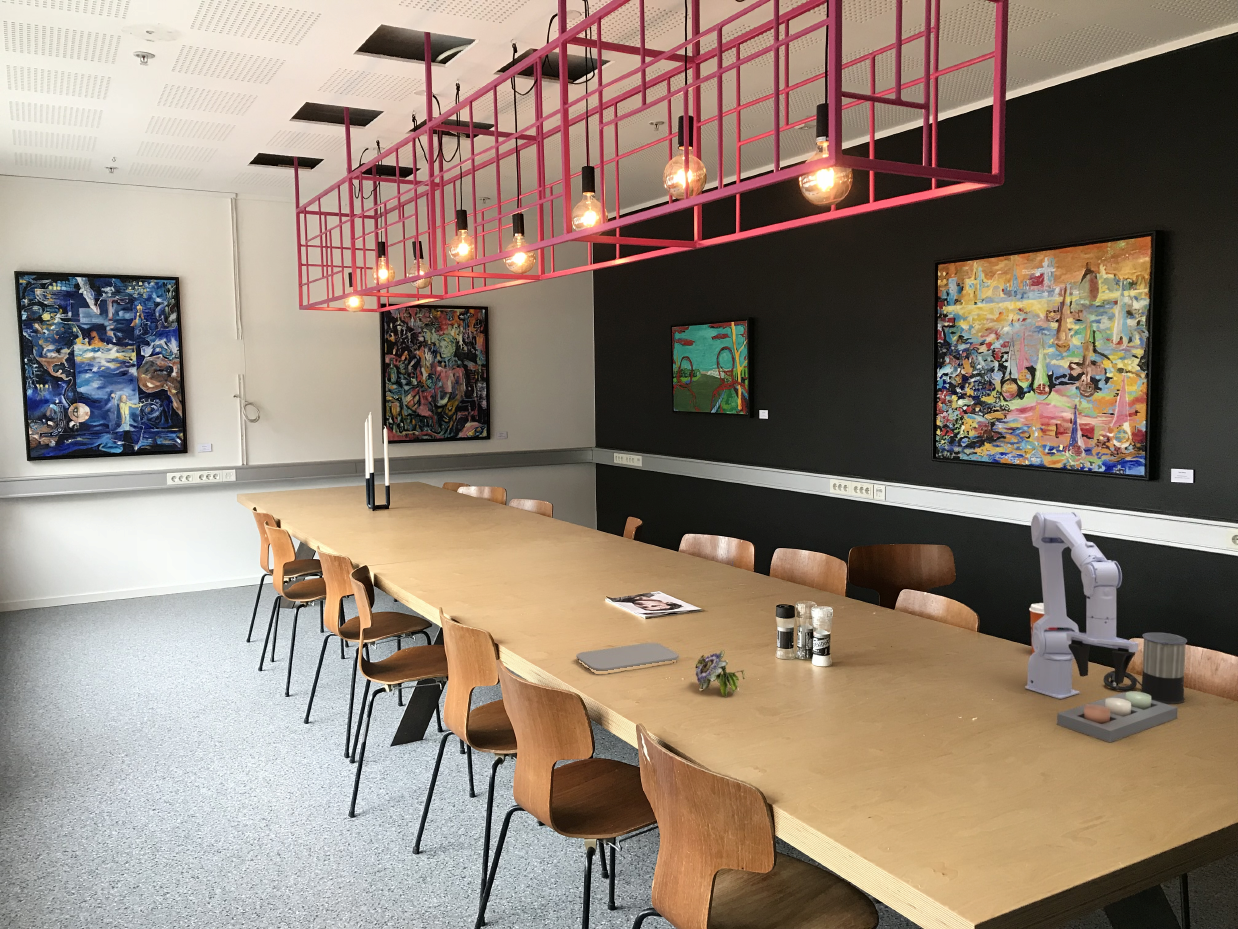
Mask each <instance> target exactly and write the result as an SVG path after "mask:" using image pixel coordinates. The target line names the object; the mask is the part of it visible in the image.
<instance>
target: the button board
mask: <svg viewBox="0 0 1238 929" xmlns="http://www.w3.org/2000/svg"><path fill="white" fill-rule="evenodd" d="M1126 692H1127V691H1122V692H1120V693H1118V694H1114V695H1111V696H1108V697H1104V698H1102V699H1099V700H1096V701H1093V702H1090V703H1086V704H1083V705H1080V706H1077V707H1073V708H1071V709H1067V710H1063V711H1060V712H1057V713H1056V725H1058V726H1061V727H1063V728H1065V729H1069V730H1072V731H1075V732H1079V733H1081V734H1085V735H1087V736H1089V737H1092V738H1095V739H1098V740H1101V741H1105V742H1107V743H1113V742H1115V741H1118V740H1121V739H1124V738H1126V737H1129V736H1132V735H1135V734H1137V733H1140V732H1143V731H1146V730H1148V729H1152V728H1155V727H1156V726H1160V725H1162V724H1165V723H1167V722H1168V723H1169V722H1171V721H1174V720H1176V719H1178V712H1179V711H1178V708H1179V707H1178V706H1173V705H1171V704H1168V703H1161V702H1157V701H1154V700H1151V708H1148V709H1145V710H1142V709H1139V708H1136V707H1132V706H1131V715H1128V716H1125V717H1122V716H1119V715H1115V714H1112V713H1110V722H1107V723H1104V724H1099V723H1096V722H1093V721H1090V720H1087V719H1084V706H1085V705H1100V706H1104V707H1105V700H1106V699H1107V698H1120V699H1124V700H1126Z"/></svg>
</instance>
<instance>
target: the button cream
mask: <svg viewBox="0 0 1238 929" xmlns="http://www.w3.org/2000/svg"><path fill="white" fill-rule="evenodd" d="M1106 698H1107V699H1106V700H1105V707H1107V708H1109V709H1110V713H1112V714H1115V715H1119V716H1122V717H1125V716H1128V715H1131V702H1129V701H1127V700H1124V699H1120V698H1108V697H1106Z"/></svg>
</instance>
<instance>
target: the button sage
mask: <svg viewBox="0 0 1238 929" xmlns="http://www.w3.org/2000/svg"><path fill="white" fill-rule="evenodd" d="M1125 692H1126V700H1127V701H1129V702H1131V706H1132V707H1136V708H1139V709H1142V710H1145V709H1148V708H1151V696H1150V695H1149V694H1146V693H1142V692H1140V691H1136V690H1135V691H1134V690H1133V691H1132V690H1130V691H1125Z"/></svg>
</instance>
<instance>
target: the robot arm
mask: <svg viewBox="0 0 1238 929" xmlns="http://www.w3.org/2000/svg"><path fill="white" fill-rule="evenodd" d="M1030 528H1031V530H1030V532H1031V541H1032V546H1034V547H1035V548H1038V551H1039V561H1040V573H1041V574H1040V575H1041V588H1042V589H1041V590H1042V598H1043V600H1042V601H1043V602H1042V603H1044V616H1043V617H1042V618H1041V619H1039V620H1038V621H1037V622H1035V623H1034V625H1033V635H1032V642H1031V646H1032V645H1033V649H1034V651H1035V652H1034V653H1033V654H1032V653H1031V655H1030V656H1029V658H1028V661H1027V684H1026V685H1025V686H1024V687H1025V689H1026V690H1029V691H1030V690H1031V691H1033V692H1036V693H1039V694H1043V695H1045V696H1050V697H1053V698H1055V699H1059V700H1061V699H1065V698H1068V697H1072V696H1075V695H1079V694H1080V691H1079V690H1076V689H1073V686H1072V685H1073V661H1075V663H1076V666H1077V669H1078V672H1079V673H1078V674H1079V677H1082V678H1083V677H1086V676H1088V675H1089V674H1088V673H1089V655H1090V650H1091V647H1092V646H1097V647H1098V646H1099V647H1103V648H1104V647H1105V648H1110V649H1116V650H1112V651H1111V655H1112V658H1113V663H1114V671H1115V683H1116V684H1119V685H1120V684H1123V683H1124V680H1125V678H1126V677H1125V673H1126V672H1127V670H1128V668H1129V665H1130V663H1131V661H1132V659H1133V658H1134V657H1135V655H1136V653H1137V652H1139V641H1132V640H1129V639H1125V638H1120V637H1117V589H1118V588H1120V586H1121V585H1122V580H1123V574H1122V570H1121V567H1120V565H1119V563H1118V561H1116V560H1111V559H1110V560H1108V559H1107V558H1106V556H1105V555H1104V554H1103V553H1102V551H1101V550H1100V549H1099V548H1098V547H1097V545H1096V543H1094V542H1091V541H1087V539H1086V538H1085V536H1084V534H1083V533H1082V520H1081V517H1080V515H1079V514H1078V513H1077V512H1075V511H1072V512H1040V511H1037V512H1035V514H1034V515H1033V516H1032V519H1031V523H1030ZM1068 547H1069V549H1070V550H1071V552H1070V557H1071V559H1072V560H1073V562H1074V564H1075V565H1076V566H1077V567H1078V570H1080V572H1081V573H1080V577H1081V582H1082V585H1083V593H1084V595H1085V596H1086V612H1085V614H1086V622H1085V623H1086V632H1080V630H1079V626H1078V624H1077V623H1076V622H1075V621H1073V620H1072V619H1070V618H1069V617H1068V616H1067V607H1066V606H1067V604H1066V603H1067V602H1066V592H1065V590H1066V589H1065V581H1064V579H1065V578H1064V569H1063V556H1062V555H1063V551H1064V549H1065V548H1068ZM1049 627H1057V628H1061V629H1057V630H1045V629H1046V628H1049ZM1062 628H1063V629H1062Z"/></svg>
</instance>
